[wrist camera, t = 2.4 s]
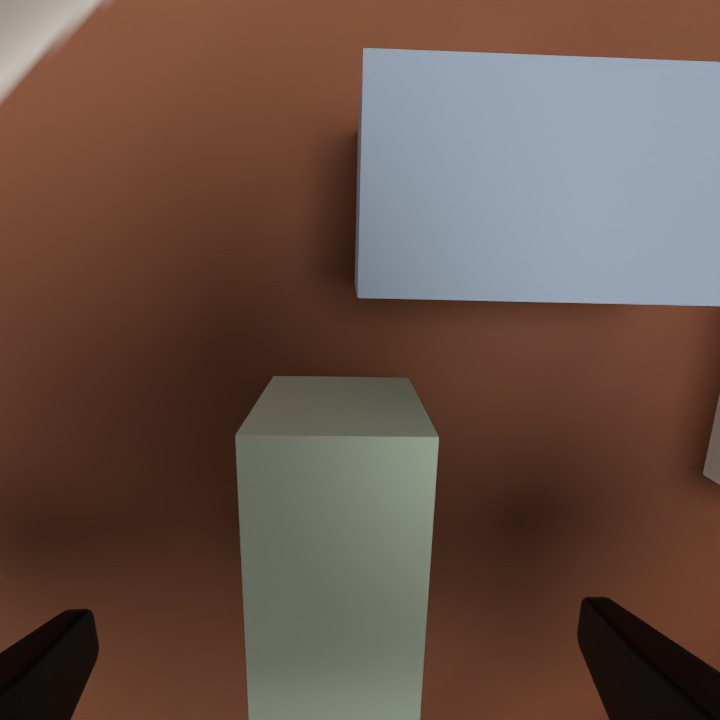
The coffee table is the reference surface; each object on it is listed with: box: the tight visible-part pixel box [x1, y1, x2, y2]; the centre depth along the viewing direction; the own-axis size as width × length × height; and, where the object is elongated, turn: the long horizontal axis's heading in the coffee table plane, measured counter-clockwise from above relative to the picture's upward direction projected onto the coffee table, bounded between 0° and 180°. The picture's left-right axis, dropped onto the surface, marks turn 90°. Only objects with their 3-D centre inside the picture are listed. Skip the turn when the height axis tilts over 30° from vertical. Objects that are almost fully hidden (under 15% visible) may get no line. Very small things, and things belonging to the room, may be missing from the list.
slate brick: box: [355, 48, 720, 306], centre depth 8 cm, size 7×4×4 cm, turn 89°
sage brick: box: [235, 376, 439, 720], centre depth 10 cm, size 7×4×4 cm, turn 179°
